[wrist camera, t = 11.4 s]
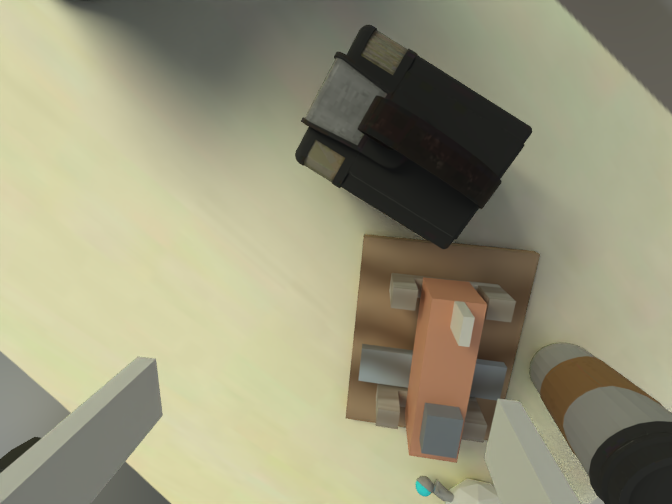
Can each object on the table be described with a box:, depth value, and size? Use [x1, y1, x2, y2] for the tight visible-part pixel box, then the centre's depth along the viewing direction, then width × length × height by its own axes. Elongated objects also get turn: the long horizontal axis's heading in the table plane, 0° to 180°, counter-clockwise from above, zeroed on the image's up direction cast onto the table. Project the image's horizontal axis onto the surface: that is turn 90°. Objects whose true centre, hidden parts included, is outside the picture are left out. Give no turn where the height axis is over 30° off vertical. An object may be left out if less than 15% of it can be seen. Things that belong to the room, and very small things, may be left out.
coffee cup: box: [530, 343, 672, 504], centre depth 28 cm, size 8×8×15 cm
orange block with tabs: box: [405, 277, 487, 463], centre depth 30 cm, size 16×4×9 cm, turn 176°
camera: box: [295, 25, 532, 249], centre depth 25 cm, size 11×14×15 cm
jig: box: [346, 234, 540, 442], centre depth 34 cm, size 22×17×6 cm
